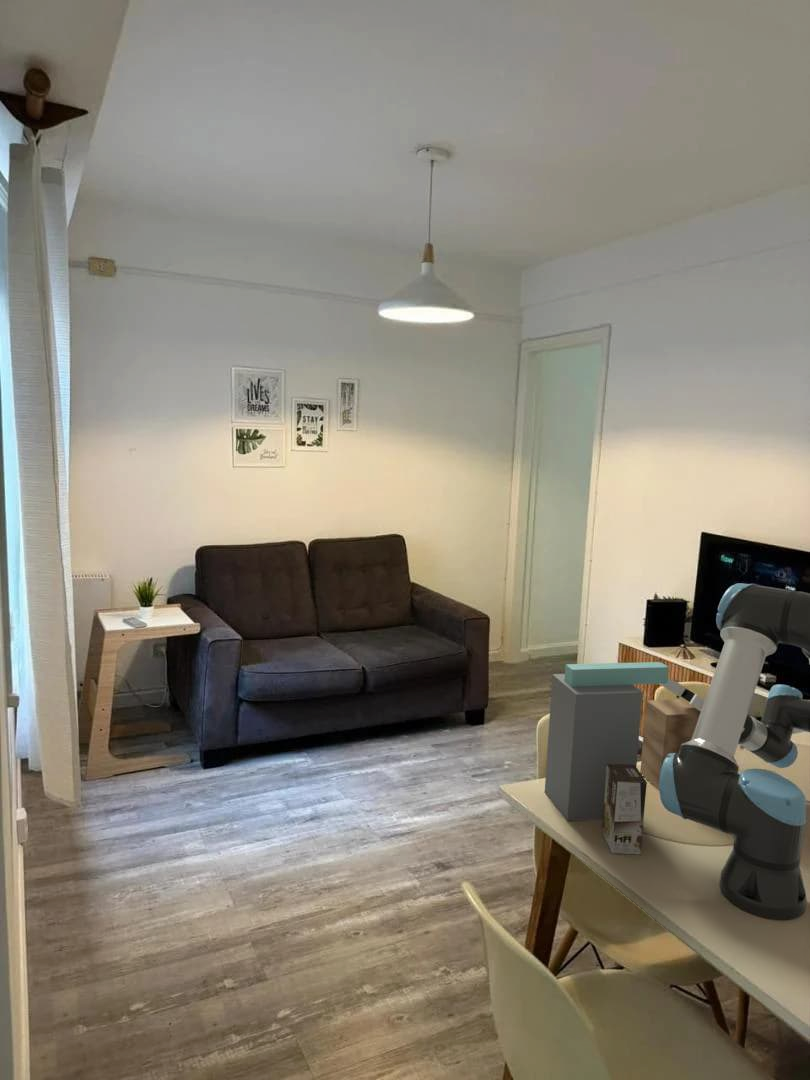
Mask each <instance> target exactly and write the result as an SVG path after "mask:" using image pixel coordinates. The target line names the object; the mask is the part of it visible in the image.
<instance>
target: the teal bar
mask: <svg viewBox="0 0 810 1080" xmlns="http://www.w3.org/2000/svg"><path fill="white" fill-rule="evenodd" d="M669 670H670V667H669V666H668V665H666V664H665V663H662V662H661V661H648V662H647V661H646V662H643V661H642V662H607V663H605V662H604V663H570V664H569V663H568V664H566V663H565V665H564V674H565V679H564V681H565V682H566V683H567V684H569V685H570V686H571V687H575V686H607V685H633V686H637V685H660V684H667V683H668V677H669Z"/></svg>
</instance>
